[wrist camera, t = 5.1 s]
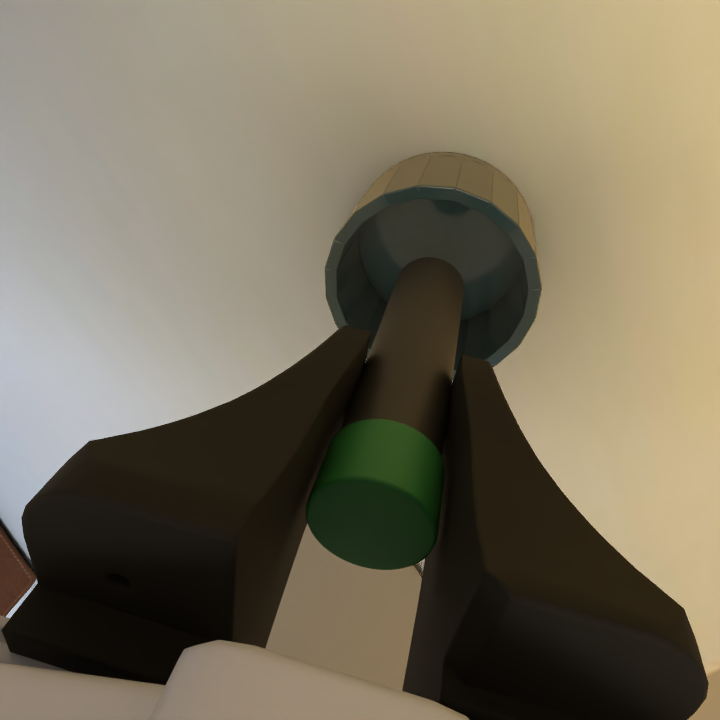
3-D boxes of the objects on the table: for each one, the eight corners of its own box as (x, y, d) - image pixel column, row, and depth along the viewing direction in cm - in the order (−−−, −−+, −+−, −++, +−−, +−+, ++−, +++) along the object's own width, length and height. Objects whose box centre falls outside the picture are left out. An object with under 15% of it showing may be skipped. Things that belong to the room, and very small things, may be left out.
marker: (418, 332, 17) (354, 583, 10) (378, 275, 17) (278, 501, 9) (481, 300, 16) (463, 554, 9) (442, 239, 15) (387, 460, 8)
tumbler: (413, 348, 24) (398, 407, 20) (319, 216, 22) (284, 258, 18) (566, 274, 21) (578, 330, 17) (475, 110, 18) (469, 137, 15)
